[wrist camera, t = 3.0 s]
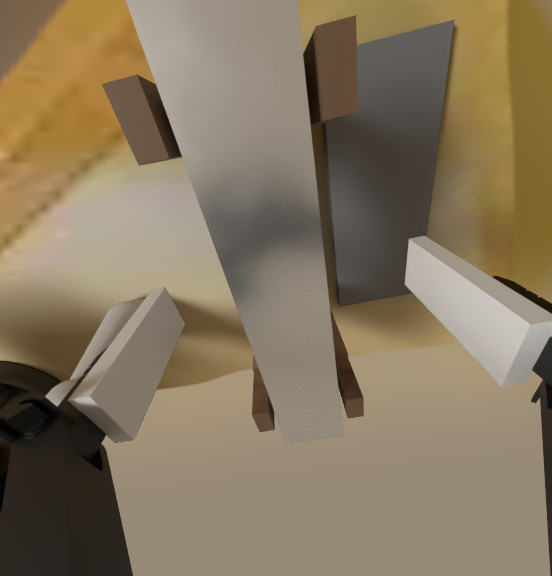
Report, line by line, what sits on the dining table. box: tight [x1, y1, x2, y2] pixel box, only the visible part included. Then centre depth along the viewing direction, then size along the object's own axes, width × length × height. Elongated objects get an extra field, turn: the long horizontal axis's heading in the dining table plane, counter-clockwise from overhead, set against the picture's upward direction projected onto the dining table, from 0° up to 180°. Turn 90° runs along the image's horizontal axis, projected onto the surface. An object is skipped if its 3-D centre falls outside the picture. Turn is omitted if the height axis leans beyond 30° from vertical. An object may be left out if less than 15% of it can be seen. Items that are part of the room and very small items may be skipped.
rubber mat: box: [324, 20, 454, 306], centre depth 22 cm, size 9×22×1 cm, turn 12°
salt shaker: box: [45, 297, 145, 406], centre depth 23 cm, size 6×6×13 cm
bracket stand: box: [102, 15, 364, 432], centre depth 17 cm, size 8×22×14 cm, turn 12°
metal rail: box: [126, 0, 343, 444], centre depth 12 cm, size 4×22×4 cm, turn 11°
